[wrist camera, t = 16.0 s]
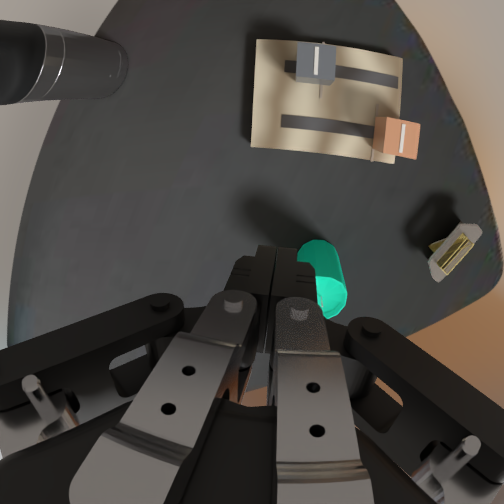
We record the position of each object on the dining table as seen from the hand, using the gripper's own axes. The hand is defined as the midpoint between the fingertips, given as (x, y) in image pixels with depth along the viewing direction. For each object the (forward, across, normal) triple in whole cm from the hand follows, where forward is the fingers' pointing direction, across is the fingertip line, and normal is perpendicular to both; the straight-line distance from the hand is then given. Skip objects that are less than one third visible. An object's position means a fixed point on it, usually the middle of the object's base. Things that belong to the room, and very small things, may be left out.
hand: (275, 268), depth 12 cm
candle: (+29, -5, +13) cm, 32 cm away
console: (+29, -4, -9) cm, 31 cm away
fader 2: (+27, -12, -5) cm, 30 cm away
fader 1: (+27, -2, -13) cm, 30 cm away
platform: (+30, -24, +7) cm, 39 cm away
